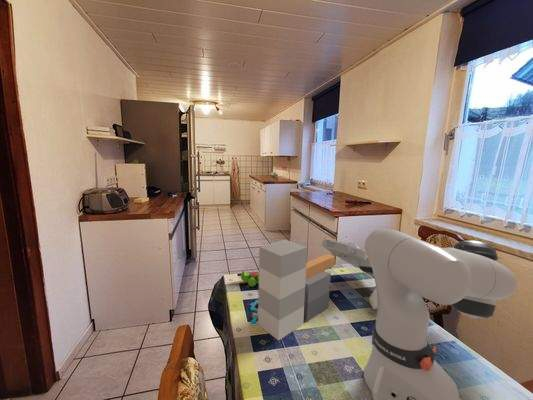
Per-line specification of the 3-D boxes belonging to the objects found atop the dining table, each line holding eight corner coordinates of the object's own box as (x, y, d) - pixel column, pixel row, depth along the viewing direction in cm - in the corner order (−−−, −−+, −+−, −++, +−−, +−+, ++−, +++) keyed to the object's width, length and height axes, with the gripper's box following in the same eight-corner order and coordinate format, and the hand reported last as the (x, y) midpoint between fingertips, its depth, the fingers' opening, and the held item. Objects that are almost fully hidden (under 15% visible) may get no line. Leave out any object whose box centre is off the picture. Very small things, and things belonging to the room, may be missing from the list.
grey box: (328, 307, 96) (330, 273, 93) (306, 321, 87) (308, 284, 85) (307, 296, 103) (309, 265, 101) (286, 308, 95) (287, 274, 92)
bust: (378, 319, 93) (402, 302, 89) (362, 303, 95) (385, 286, 91) (378, 302, 104) (399, 286, 100) (364, 289, 106) (384, 272, 101)
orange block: (334, 265, 101) (334, 256, 100) (301, 281, 87) (302, 270, 87) (326, 262, 103) (327, 253, 103) (294, 277, 90) (294, 267, 89)
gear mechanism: (283, 298, 103) (262, 293, 106) (283, 286, 102) (262, 281, 105) (267, 328, 84) (242, 322, 87) (267, 314, 83) (242, 308, 86)
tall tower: (303, 324, 86) (307, 247, 81) (278, 340, 78) (281, 256, 73) (282, 310, 93) (285, 239, 89) (258, 324, 85) (259, 246, 81)
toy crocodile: (284, 284, 113) (285, 271, 112) (282, 291, 107) (282, 278, 106) (244, 278, 118) (244, 266, 117) (239, 285, 112) (239, 272, 111)
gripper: (370, 267, 103) (357, 259, 94) (329, 253, 119) (314, 244, 110) (375, 253, 105) (362, 243, 96) (333, 240, 120) (319, 231, 111)
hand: (336, 244), depth 103 cm, fingers open, 8 cm apart
